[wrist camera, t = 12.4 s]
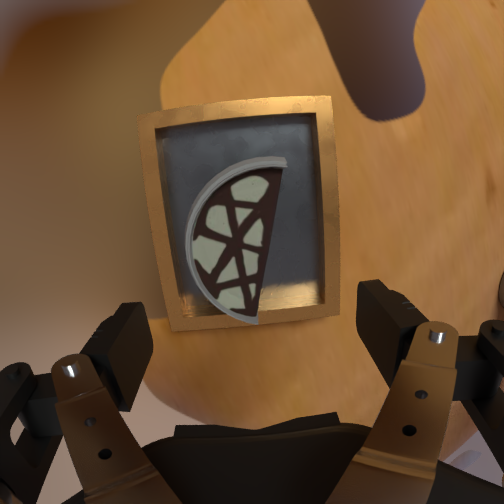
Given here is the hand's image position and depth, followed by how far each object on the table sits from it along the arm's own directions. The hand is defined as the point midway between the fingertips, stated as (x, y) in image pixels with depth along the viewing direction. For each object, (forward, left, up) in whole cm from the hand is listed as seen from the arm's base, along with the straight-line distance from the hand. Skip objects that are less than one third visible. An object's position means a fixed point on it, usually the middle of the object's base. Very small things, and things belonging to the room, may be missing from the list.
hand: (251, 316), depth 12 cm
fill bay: (0, 0, -22) cm, 22 cm away
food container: (+1, 0, -20) cm, 20 cm away
